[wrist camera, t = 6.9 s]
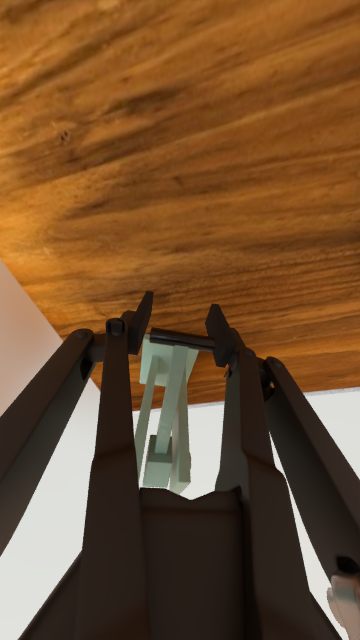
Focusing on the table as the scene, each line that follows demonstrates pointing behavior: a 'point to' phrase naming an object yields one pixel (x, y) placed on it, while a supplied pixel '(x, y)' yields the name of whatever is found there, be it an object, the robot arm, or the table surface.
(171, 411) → the lever
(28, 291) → the table surface
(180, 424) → the bracket
